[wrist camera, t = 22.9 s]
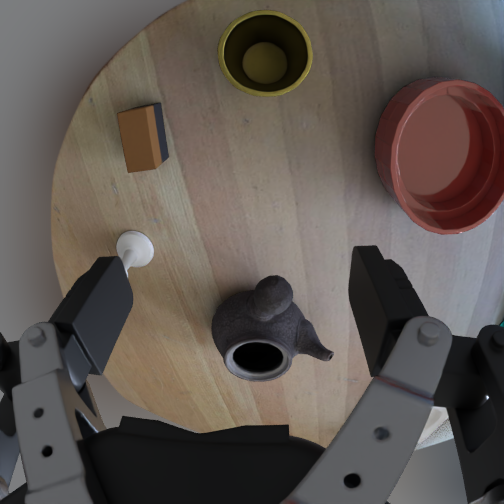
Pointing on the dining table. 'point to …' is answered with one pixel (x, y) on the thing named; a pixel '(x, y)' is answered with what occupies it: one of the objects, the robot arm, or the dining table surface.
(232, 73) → the vase
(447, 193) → the red bowl
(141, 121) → the eraser
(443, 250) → the dining table surface
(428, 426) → the plate
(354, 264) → the robot arm
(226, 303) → the teapot
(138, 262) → the chess piece
